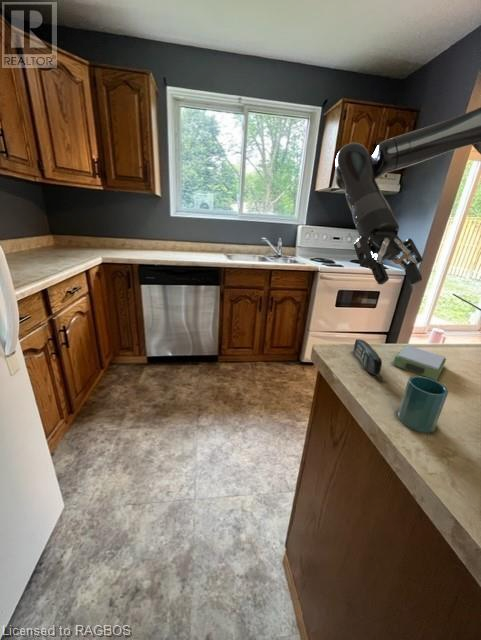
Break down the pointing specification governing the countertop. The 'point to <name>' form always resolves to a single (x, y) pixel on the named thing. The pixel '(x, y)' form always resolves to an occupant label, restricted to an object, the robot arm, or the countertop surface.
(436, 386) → the teal cup
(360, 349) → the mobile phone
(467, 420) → the countertop surface
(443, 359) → the kitchen scale
